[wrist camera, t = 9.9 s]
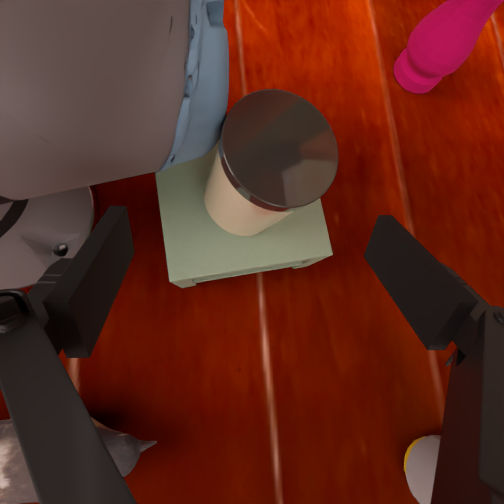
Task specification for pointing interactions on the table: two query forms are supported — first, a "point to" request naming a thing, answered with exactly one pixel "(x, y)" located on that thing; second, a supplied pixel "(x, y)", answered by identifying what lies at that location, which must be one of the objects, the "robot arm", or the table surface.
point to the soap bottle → (422, 466)
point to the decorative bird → (17, 475)
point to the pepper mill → (441, 43)
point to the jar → (269, 162)
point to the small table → (222, 242)
